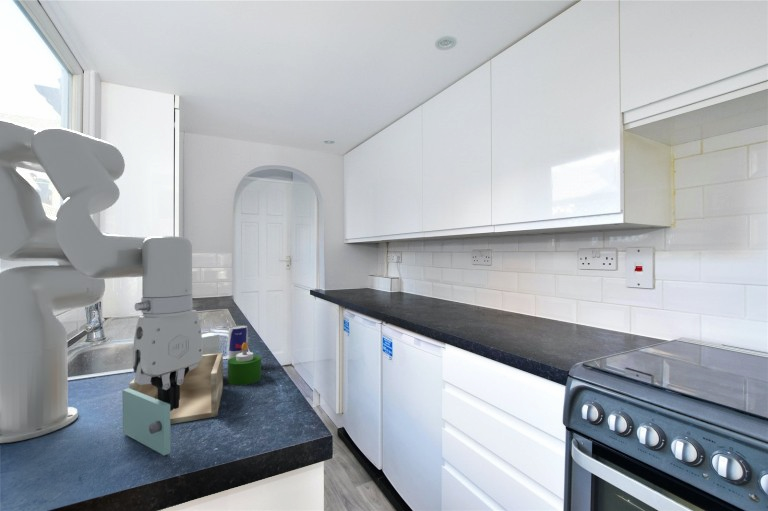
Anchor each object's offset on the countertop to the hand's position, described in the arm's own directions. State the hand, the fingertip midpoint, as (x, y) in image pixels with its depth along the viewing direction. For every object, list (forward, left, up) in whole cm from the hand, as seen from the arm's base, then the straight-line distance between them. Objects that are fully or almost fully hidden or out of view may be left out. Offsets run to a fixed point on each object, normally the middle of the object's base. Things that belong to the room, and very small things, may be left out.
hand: (168, 408), depth 60 cm
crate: (-1, +16, -6) cm, 17 cm away
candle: (+12, +29, -6) cm, 32 cm away
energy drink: (+10, +41, -6) cm, 42 cm away
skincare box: (+2, +33, -6) cm, 33 cm away
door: (-4, 0, -6) cm, 7 cm away
